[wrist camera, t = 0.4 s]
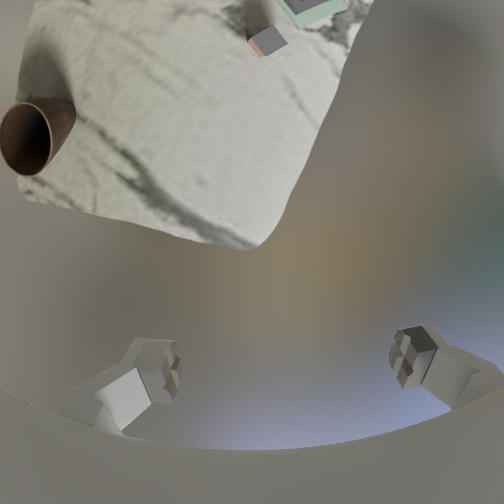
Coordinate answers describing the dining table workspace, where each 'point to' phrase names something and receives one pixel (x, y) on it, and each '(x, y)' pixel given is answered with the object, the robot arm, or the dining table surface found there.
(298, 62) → the dining table surface
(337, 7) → the board
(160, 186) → the dining table surface
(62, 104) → the plant pot
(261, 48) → the plug
